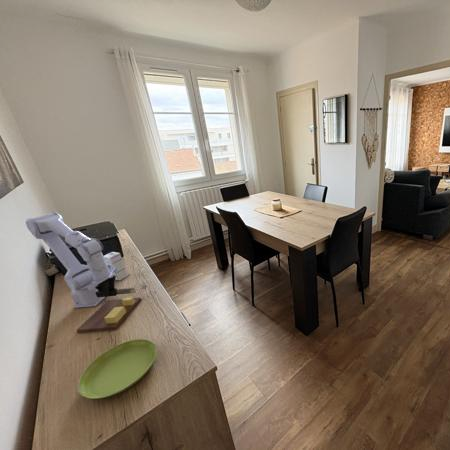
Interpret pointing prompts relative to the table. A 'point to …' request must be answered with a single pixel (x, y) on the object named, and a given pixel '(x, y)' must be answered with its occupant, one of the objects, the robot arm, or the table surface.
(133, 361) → the saucer
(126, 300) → the butter slice
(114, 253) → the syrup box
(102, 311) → the cutting board
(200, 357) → the table surface
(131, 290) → the knife
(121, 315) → the butter block
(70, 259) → the robot arm
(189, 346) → the table surface
